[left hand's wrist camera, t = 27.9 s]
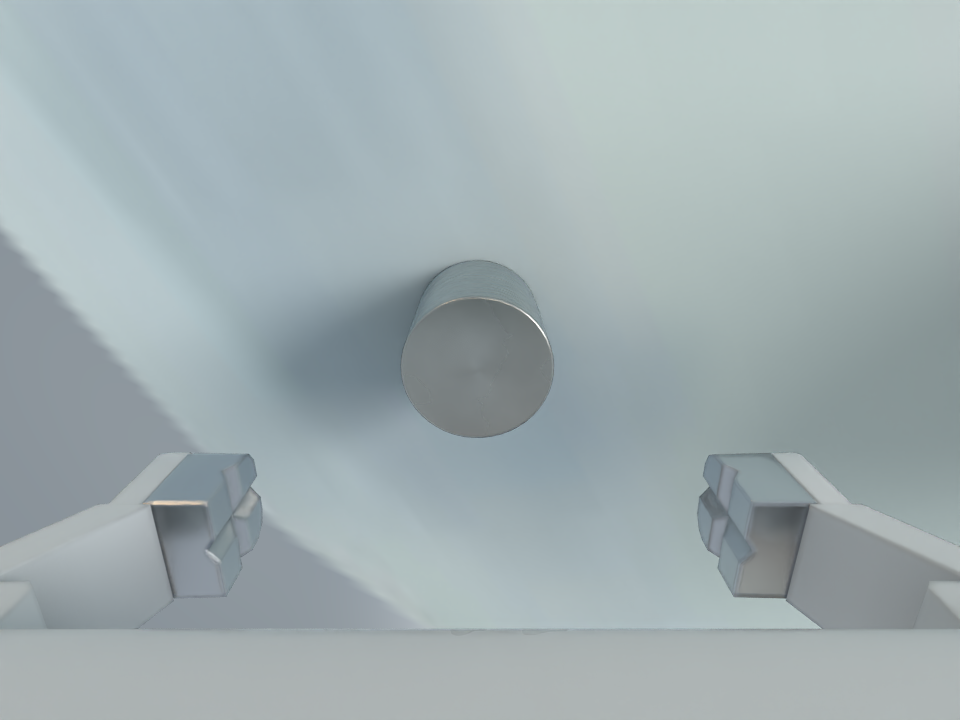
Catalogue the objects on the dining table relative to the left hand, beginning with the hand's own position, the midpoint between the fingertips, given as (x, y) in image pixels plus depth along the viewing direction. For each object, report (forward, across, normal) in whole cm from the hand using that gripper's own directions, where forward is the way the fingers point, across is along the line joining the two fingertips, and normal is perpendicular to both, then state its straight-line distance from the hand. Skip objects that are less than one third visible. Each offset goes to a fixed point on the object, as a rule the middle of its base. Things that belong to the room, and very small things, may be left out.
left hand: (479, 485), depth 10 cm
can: (+10, 0, 0) cm, 10 cm away
